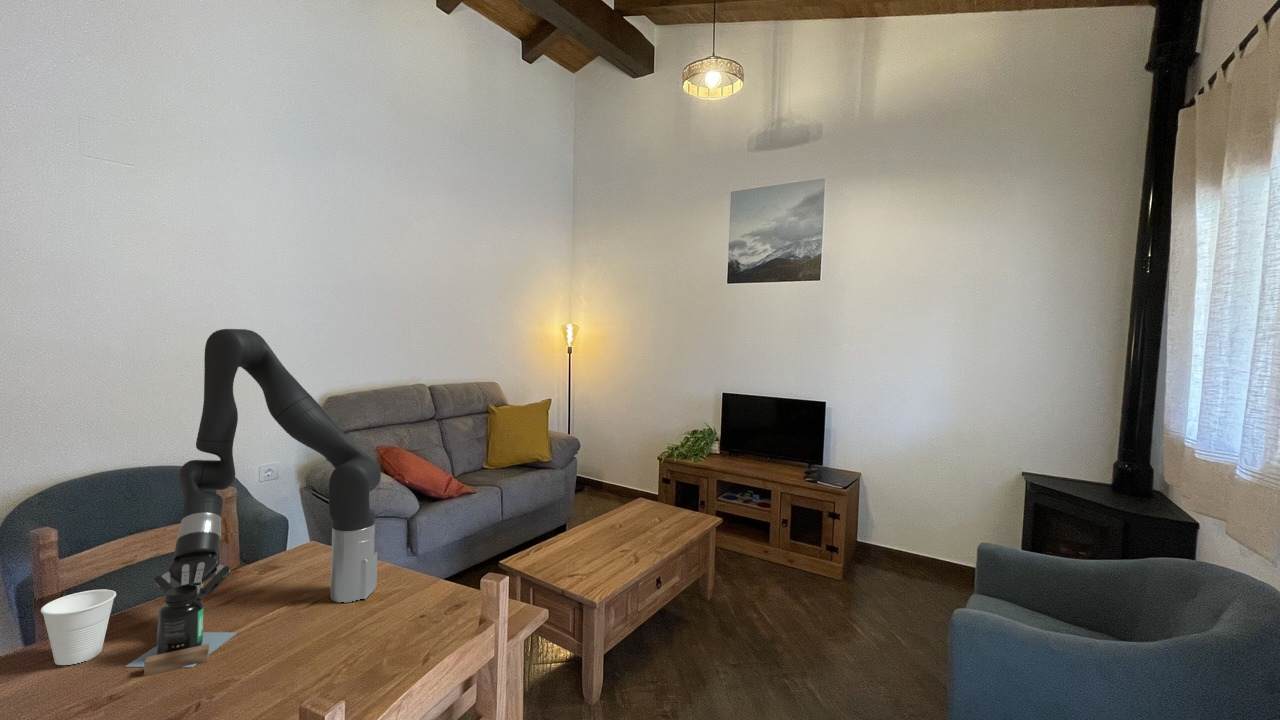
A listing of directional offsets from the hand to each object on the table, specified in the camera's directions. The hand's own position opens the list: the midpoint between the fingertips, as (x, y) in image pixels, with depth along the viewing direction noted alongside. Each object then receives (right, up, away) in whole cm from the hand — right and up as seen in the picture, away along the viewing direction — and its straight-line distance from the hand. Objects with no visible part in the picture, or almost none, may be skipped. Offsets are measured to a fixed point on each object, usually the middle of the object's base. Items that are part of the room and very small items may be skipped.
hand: (187, 617), depth 108 cm
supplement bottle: (+1, -5, -3) cm, 6 cm away
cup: (-15, -5, -7) cm, 17 cm away
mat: (+2, -5, -3) cm, 6 cm away
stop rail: (+5, -5, -8) cm, 11 cm away
